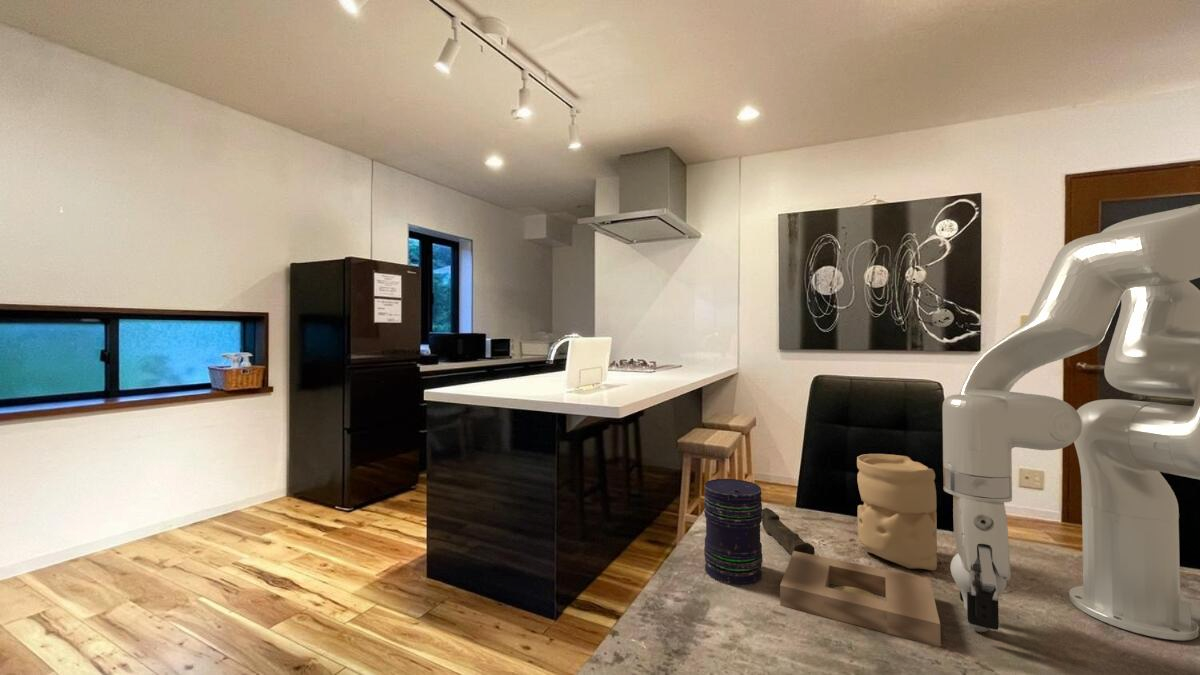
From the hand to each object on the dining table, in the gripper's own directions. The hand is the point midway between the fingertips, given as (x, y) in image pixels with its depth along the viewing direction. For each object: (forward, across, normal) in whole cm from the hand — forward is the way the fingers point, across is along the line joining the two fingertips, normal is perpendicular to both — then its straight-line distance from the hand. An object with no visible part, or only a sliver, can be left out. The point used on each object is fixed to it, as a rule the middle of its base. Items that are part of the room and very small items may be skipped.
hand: (978, 612), depth 65 cm
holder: (+2, 0, +15) cm, 15 cm away
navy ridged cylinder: (+3, 0, +34) cm, 34 cm away
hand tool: (+3, +17, +29) cm, 34 cm away
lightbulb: (+3, 0, 0) cm, 3 cm away
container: (+3, +21, +9) cm, 23 cm away
